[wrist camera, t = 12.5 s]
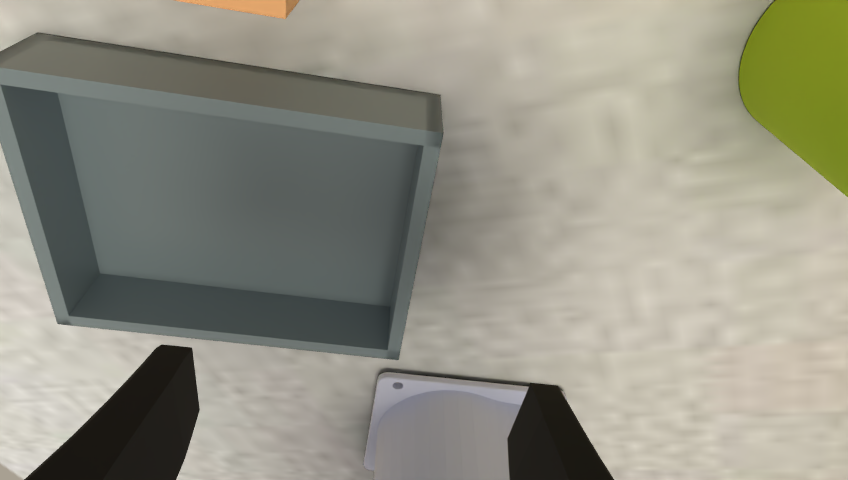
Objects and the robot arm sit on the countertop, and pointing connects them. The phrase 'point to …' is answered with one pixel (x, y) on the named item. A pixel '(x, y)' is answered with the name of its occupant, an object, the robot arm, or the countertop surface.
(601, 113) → the countertop surface
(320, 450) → the countertop surface
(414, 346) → the countertop surface
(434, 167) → the bin
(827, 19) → the soap dispenser
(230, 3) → the letter cube
